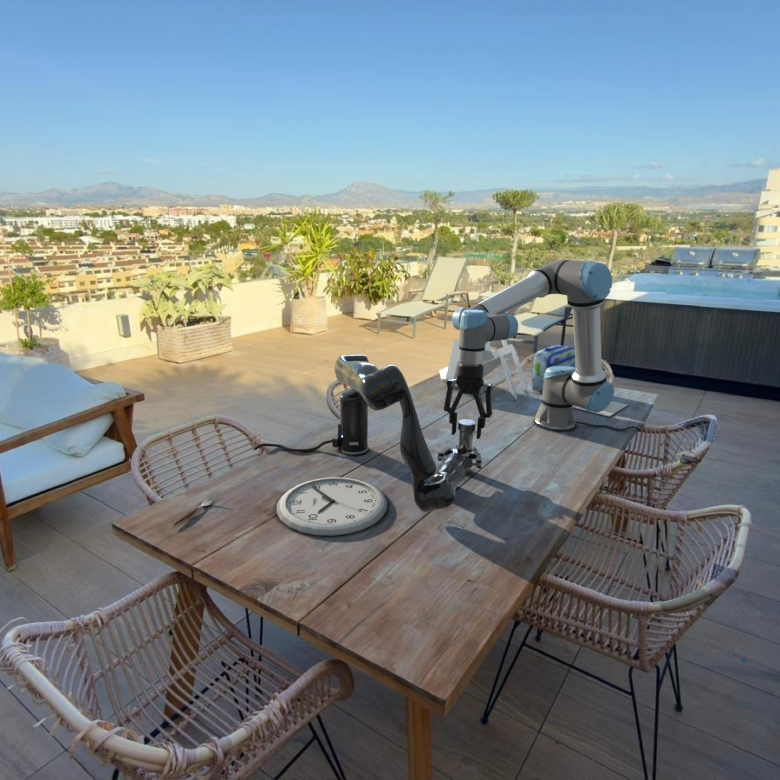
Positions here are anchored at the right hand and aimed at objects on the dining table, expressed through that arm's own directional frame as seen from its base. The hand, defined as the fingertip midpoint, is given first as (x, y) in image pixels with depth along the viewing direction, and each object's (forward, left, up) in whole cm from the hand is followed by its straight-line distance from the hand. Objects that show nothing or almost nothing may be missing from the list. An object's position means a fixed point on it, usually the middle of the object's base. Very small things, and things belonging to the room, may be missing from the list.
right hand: (466, 435), depth 161 cm
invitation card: (-60, -72, -12) cm, 95 cm away
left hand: (-1, -3, -6) cm, 6 cm away
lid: (0, 0, +4) cm, 4 cm away
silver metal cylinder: (0, 0, -12) cm, 12 cm away
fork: (+71, +36, -12) cm, 80 cm away
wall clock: (+36, +27, -12) cm, 47 cm away
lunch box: (-43, -94, -12) cm, 104 cm away
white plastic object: (-8, -84, -12) cm, 85 cm away
